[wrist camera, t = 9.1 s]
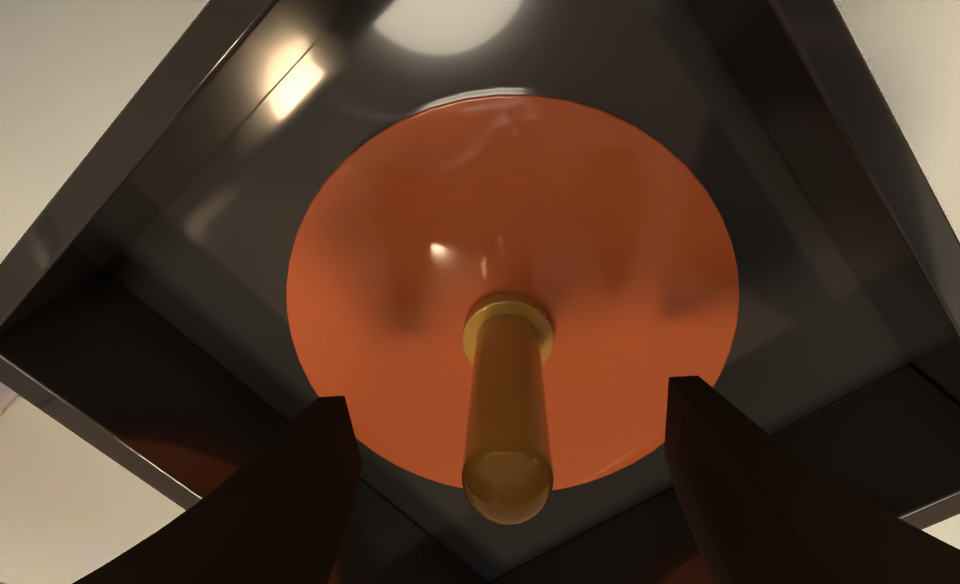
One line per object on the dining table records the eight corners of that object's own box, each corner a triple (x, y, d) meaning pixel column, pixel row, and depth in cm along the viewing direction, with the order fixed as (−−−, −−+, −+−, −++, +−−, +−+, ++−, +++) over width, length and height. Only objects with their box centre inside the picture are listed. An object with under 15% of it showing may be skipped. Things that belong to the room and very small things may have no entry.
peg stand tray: (486, 585, 23) (481, 714, 18) (83, 261, 17) (-63, 340, 12) (932, 355, 17) (1078, 466, 12) (554, -277, 11) (586, -480, 7)
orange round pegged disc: (484, 526, 20) (473, 766, 14) (210, 290, 16) (6, 467, 10) (808, 342, 16) (1018, 559, 10) (546, -34, 12) (591, -113, 6)
